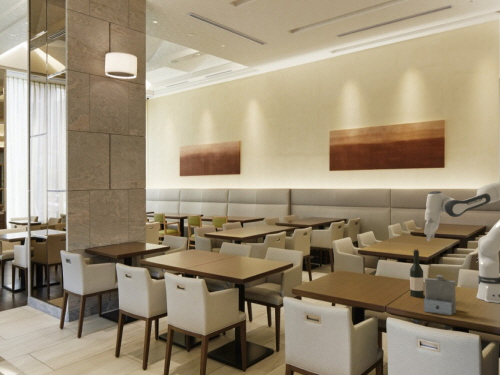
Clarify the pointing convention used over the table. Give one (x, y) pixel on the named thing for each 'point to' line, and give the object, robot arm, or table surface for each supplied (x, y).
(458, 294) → the table surface
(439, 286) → the grey rectangular slab
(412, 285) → the wine bottle
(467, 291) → the table surface
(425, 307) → the vise
